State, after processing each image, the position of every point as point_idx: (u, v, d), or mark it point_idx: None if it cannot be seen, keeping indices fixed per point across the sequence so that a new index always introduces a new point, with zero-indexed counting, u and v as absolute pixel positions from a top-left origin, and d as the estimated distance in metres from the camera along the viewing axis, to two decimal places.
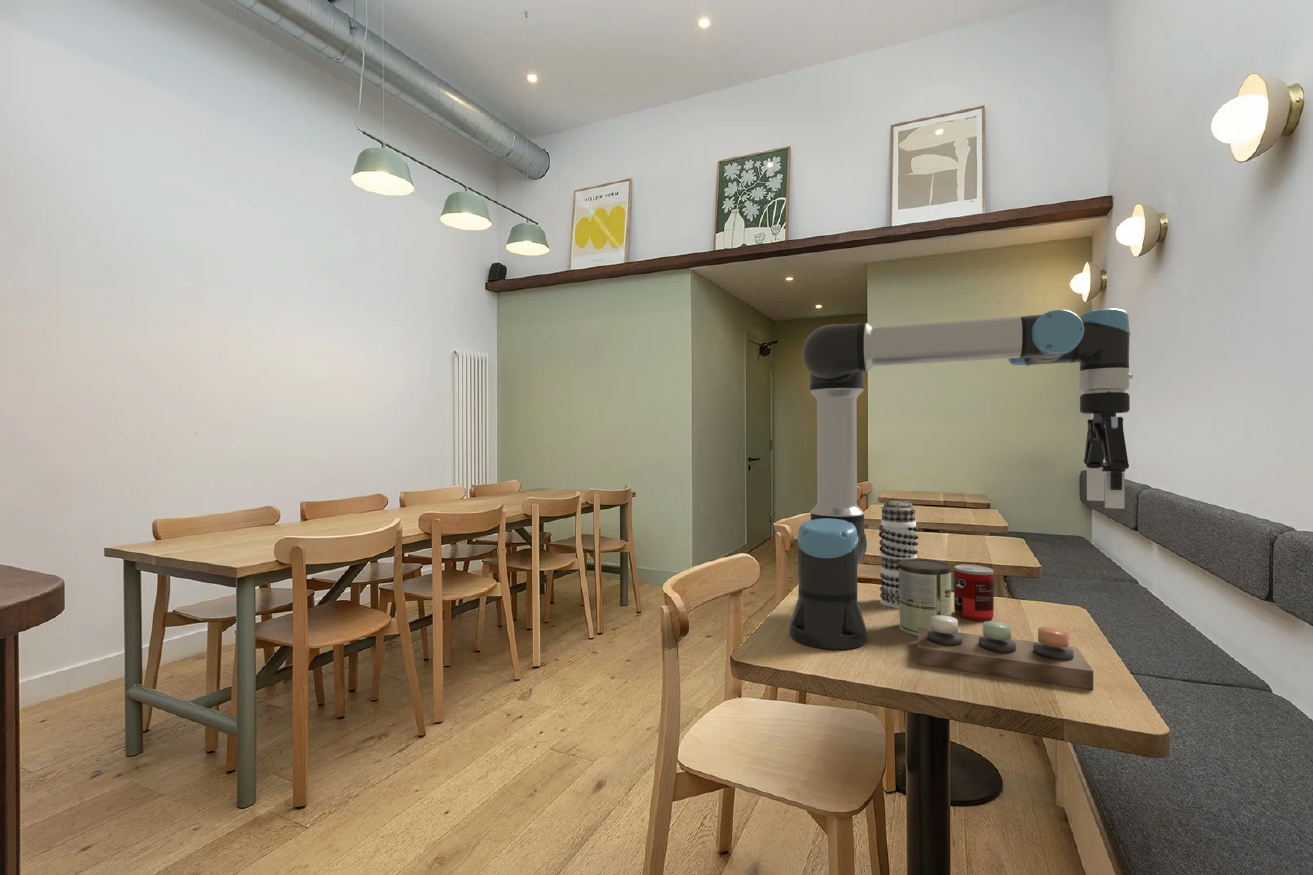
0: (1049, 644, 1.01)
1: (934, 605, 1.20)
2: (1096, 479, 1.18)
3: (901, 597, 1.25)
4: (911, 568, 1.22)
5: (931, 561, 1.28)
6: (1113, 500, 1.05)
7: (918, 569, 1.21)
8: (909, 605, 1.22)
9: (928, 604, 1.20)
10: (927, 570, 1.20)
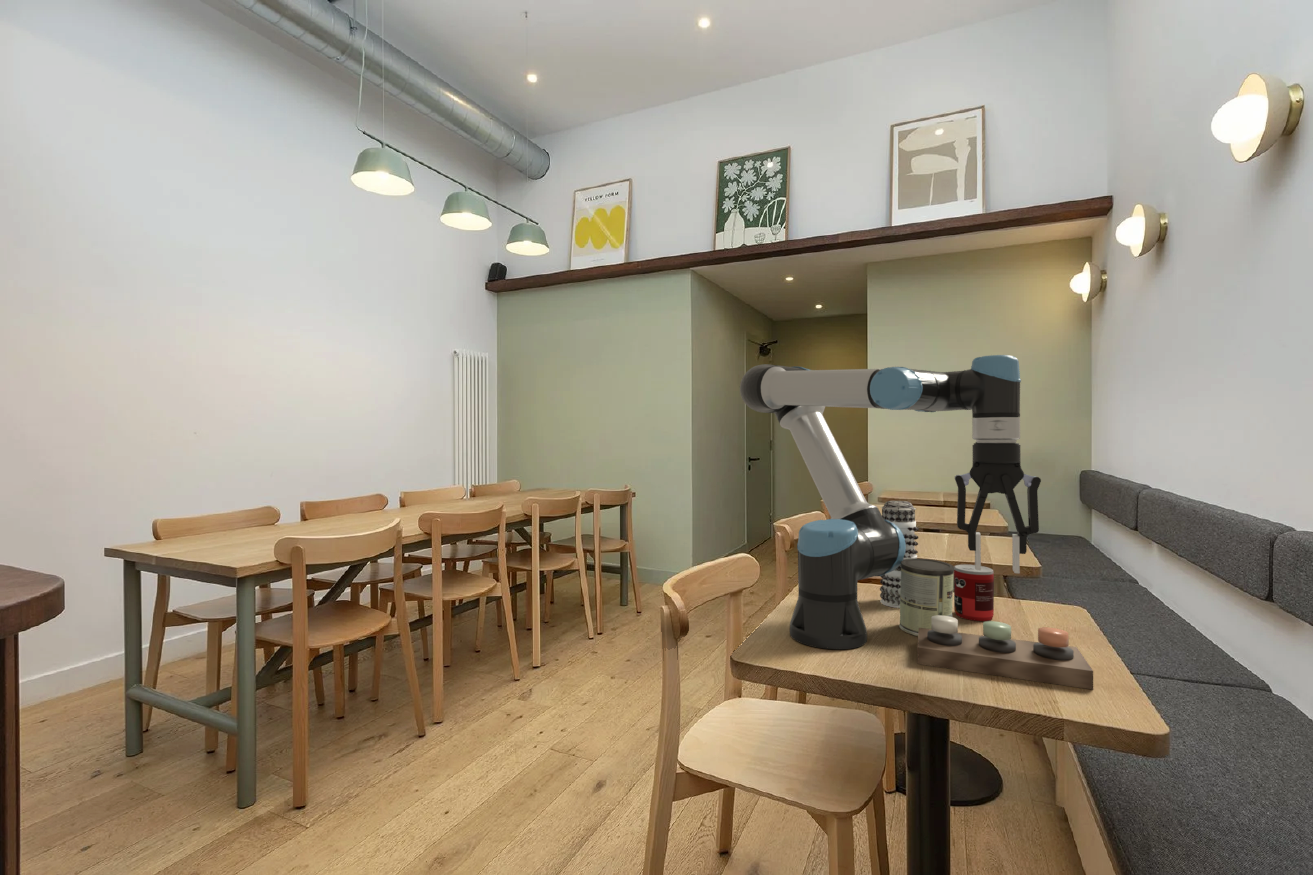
0: (1049, 644, 1.01)
1: (936, 606, 1.20)
2: (1013, 547, 1.05)
3: (902, 597, 1.24)
4: (914, 569, 1.21)
5: (933, 561, 1.27)
6: (975, 560, 1.08)
7: (921, 570, 1.20)
8: (911, 605, 1.22)
9: (930, 604, 1.20)
10: (930, 571, 1.19)
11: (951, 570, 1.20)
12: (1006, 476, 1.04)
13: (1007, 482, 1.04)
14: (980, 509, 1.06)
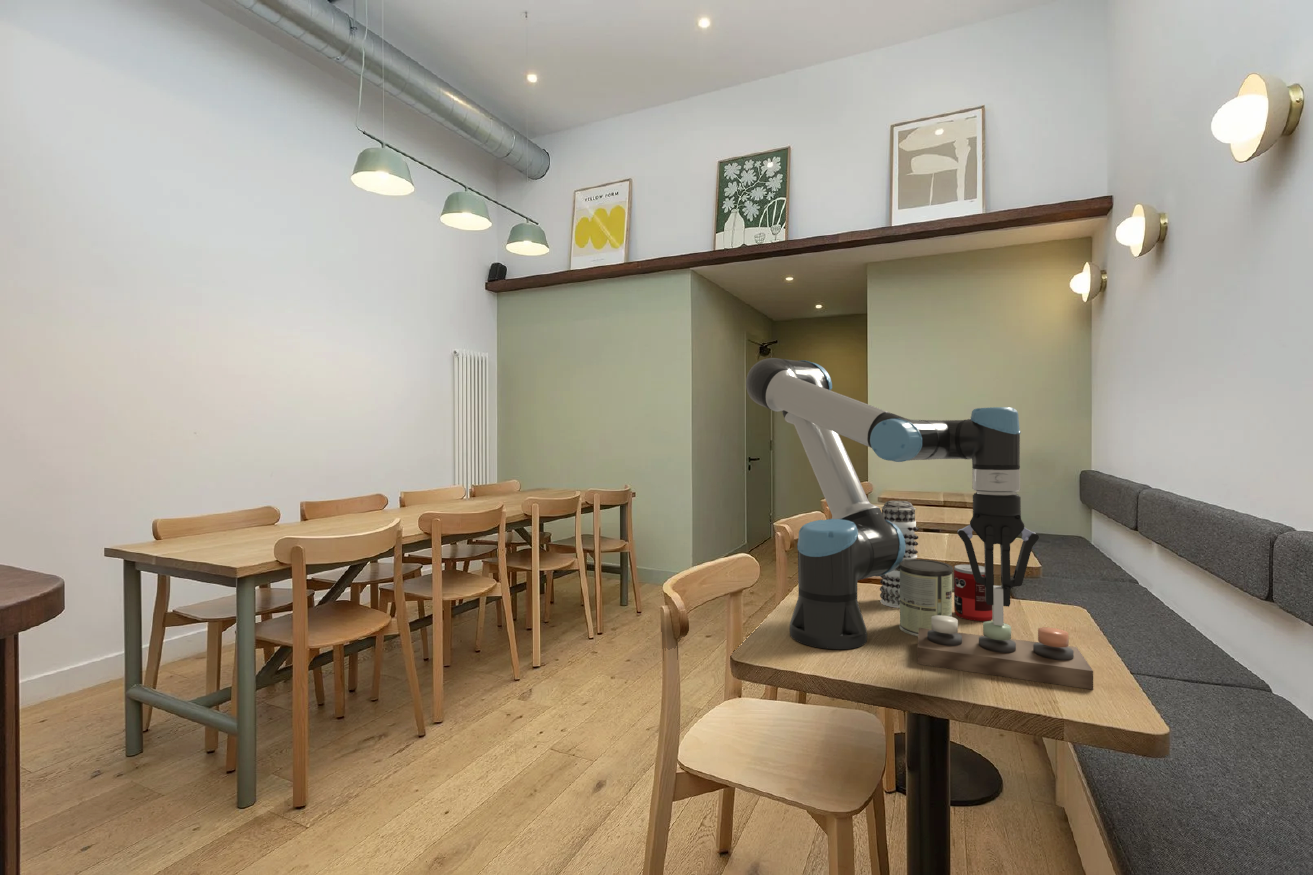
0: (1049, 644, 1.01)
1: (935, 606, 1.20)
2: None
3: (902, 598, 1.25)
4: (912, 569, 1.21)
5: (932, 562, 1.27)
6: (993, 614, 1.07)
7: (919, 571, 1.20)
8: (910, 606, 1.22)
9: (929, 605, 1.20)
10: (928, 572, 1.20)
11: (949, 570, 1.20)
12: (1007, 528, 1.04)
13: (1006, 534, 1.04)
14: (991, 562, 1.06)
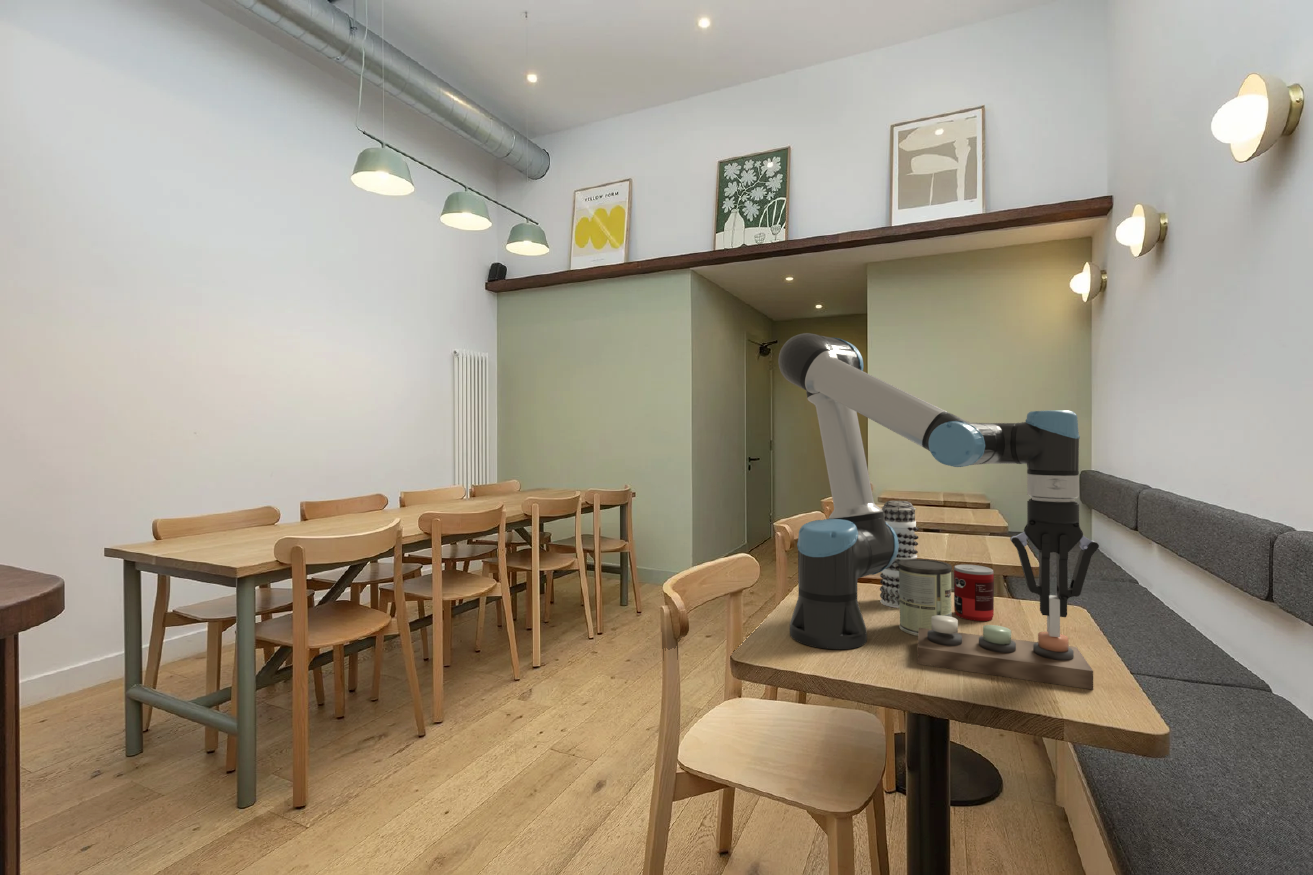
0: (1049, 649, 1.01)
1: (934, 605, 1.20)
2: None
3: (901, 597, 1.25)
4: (911, 568, 1.22)
5: (931, 561, 1.28)
6: (1048, 625, 1.03)
7: (918, 569, 1.21)
8: (909, 605, 1.22)
9: (928, 604, 1.20)
10: (927, 570, 1.20)
11: (948, 569, 1.21)
12: (1065, 536, 1.00)
13: (1064, 542, 1.00)
14: (1047, 571, 1.02)
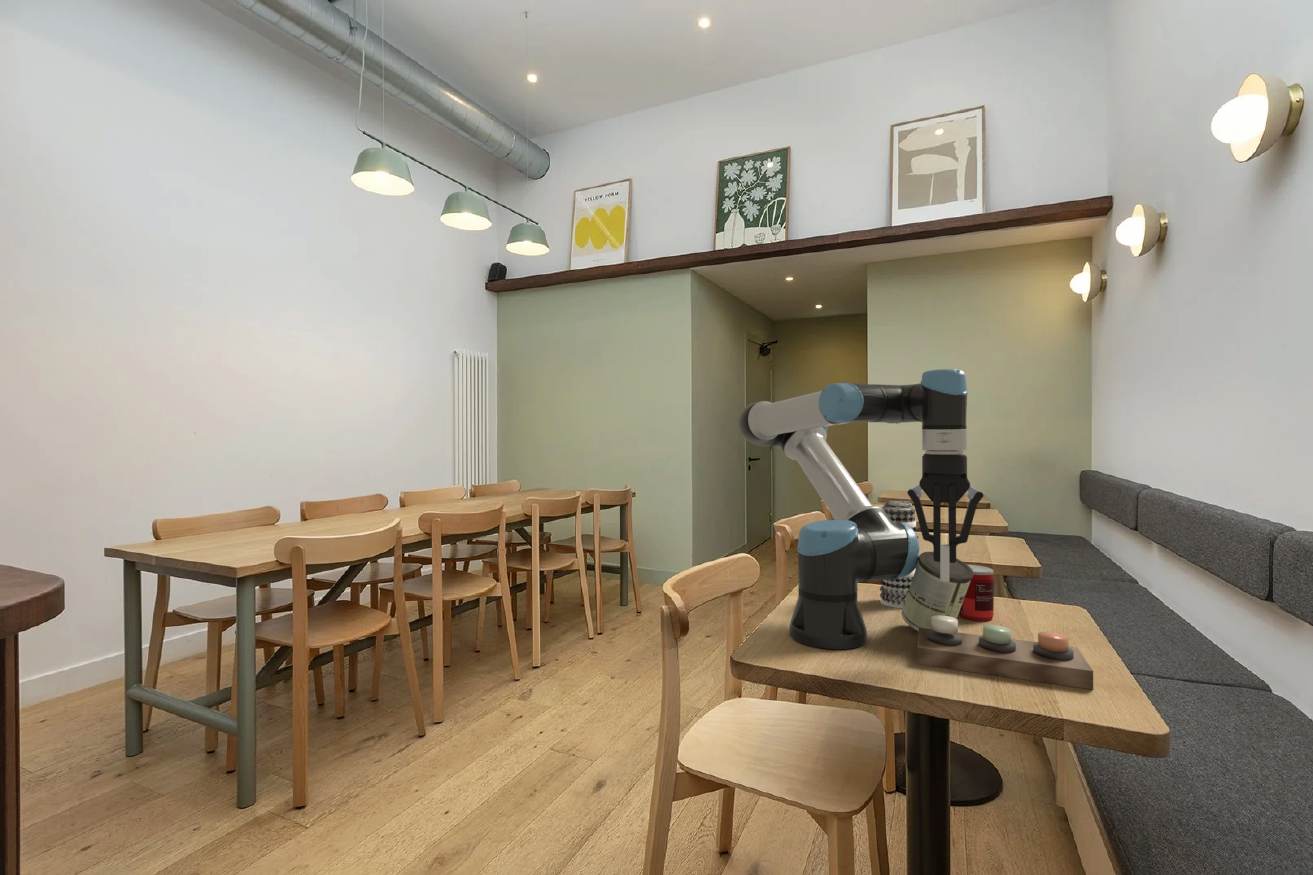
0: (1049, 649, 1.01)
1: (945, 609, 1.18)
2: None
3: (912, 591, 1.22)
4: (933, 571, 1.17)
5: None
6: None
7: None
8: (919, 603, 1.20)
9: (939, 607, 1.18)
10: (949, 577, 1.15)
11: (970, 578, 1.16)
12: (953, 487, 1.07)
13: (952, 493, 1.07)
14: (938, 520, 1.09)
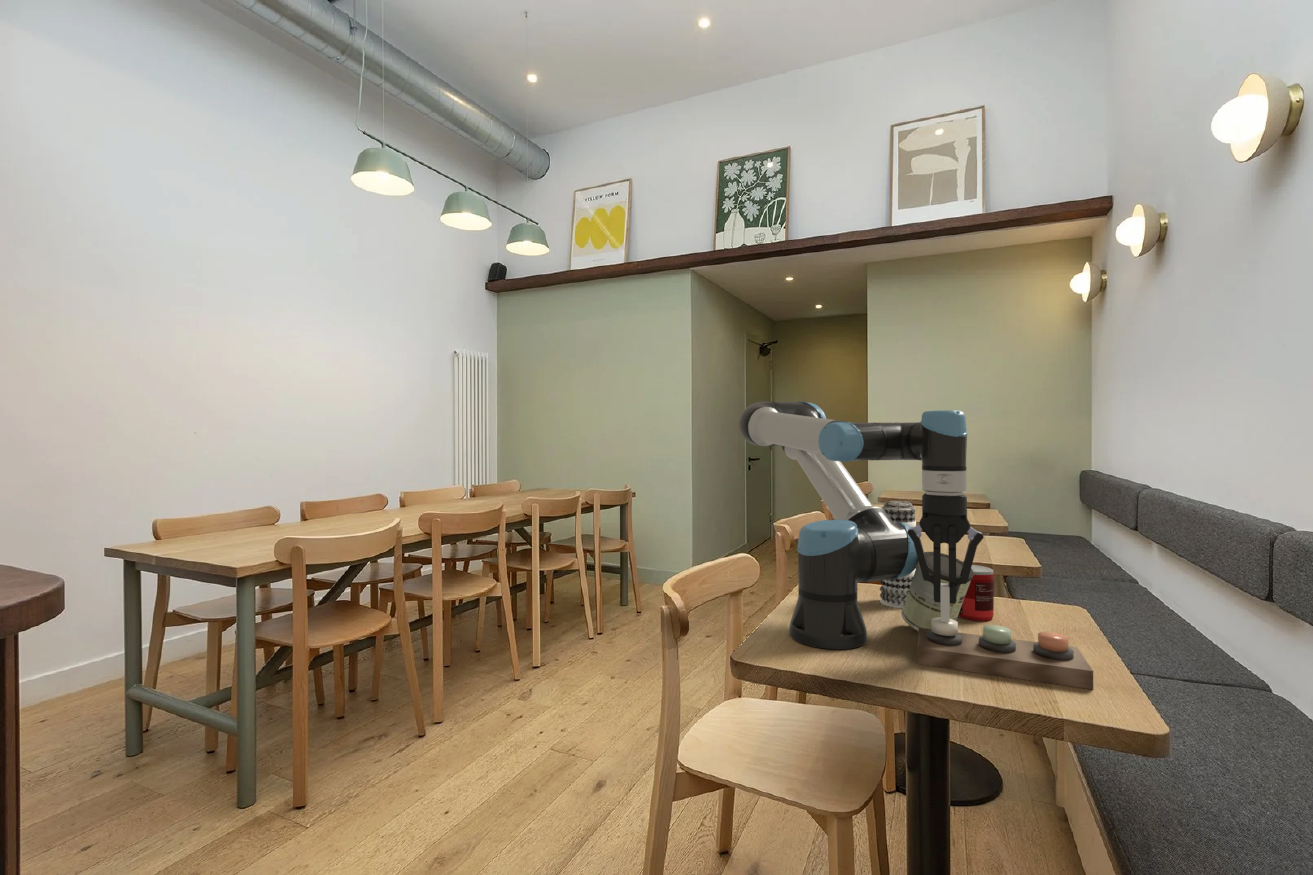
0: (1049, 649, 1.01)
1: None
2: None
3: (913, 591, 1.22)
4: None
5: None
6: None
7: None
8: (919, 602, 1.20)
9: (939, 607, 1.18)
10: None
11: (970, 578, 1.16)
12: (953, 528, 1.07)
13: (952, 534, 1.07)
14: (938, 560, 1.09)
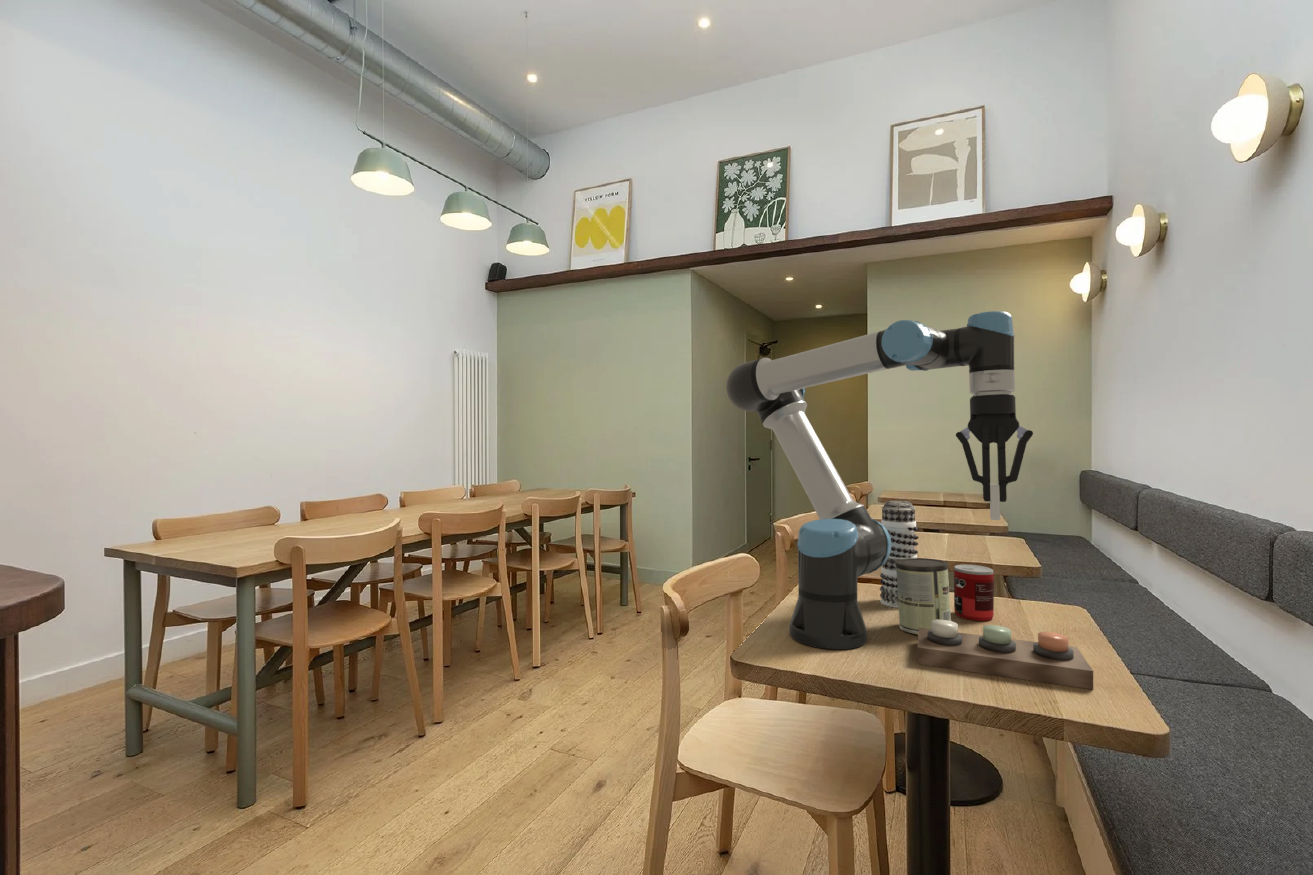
0: (1049, 649, 1.01)
1: (932, 602, 1.20)
2: None
3: (899, 596, 1.25)
4: (908, 566, 1.22)
5: (928, 560, 1.28)
6: (990, 511, 1.12)
7: (915, 567, 1.21)
8: (908, 604, 1.23)
9: (926, 601, 1.20)
10: (924, 567, 1.21)
11: (944, 565, 1.21)
12: (1002, 426, 1.09)
13: (1001, 432, 1.09)
14: (987, 460, 1.11)
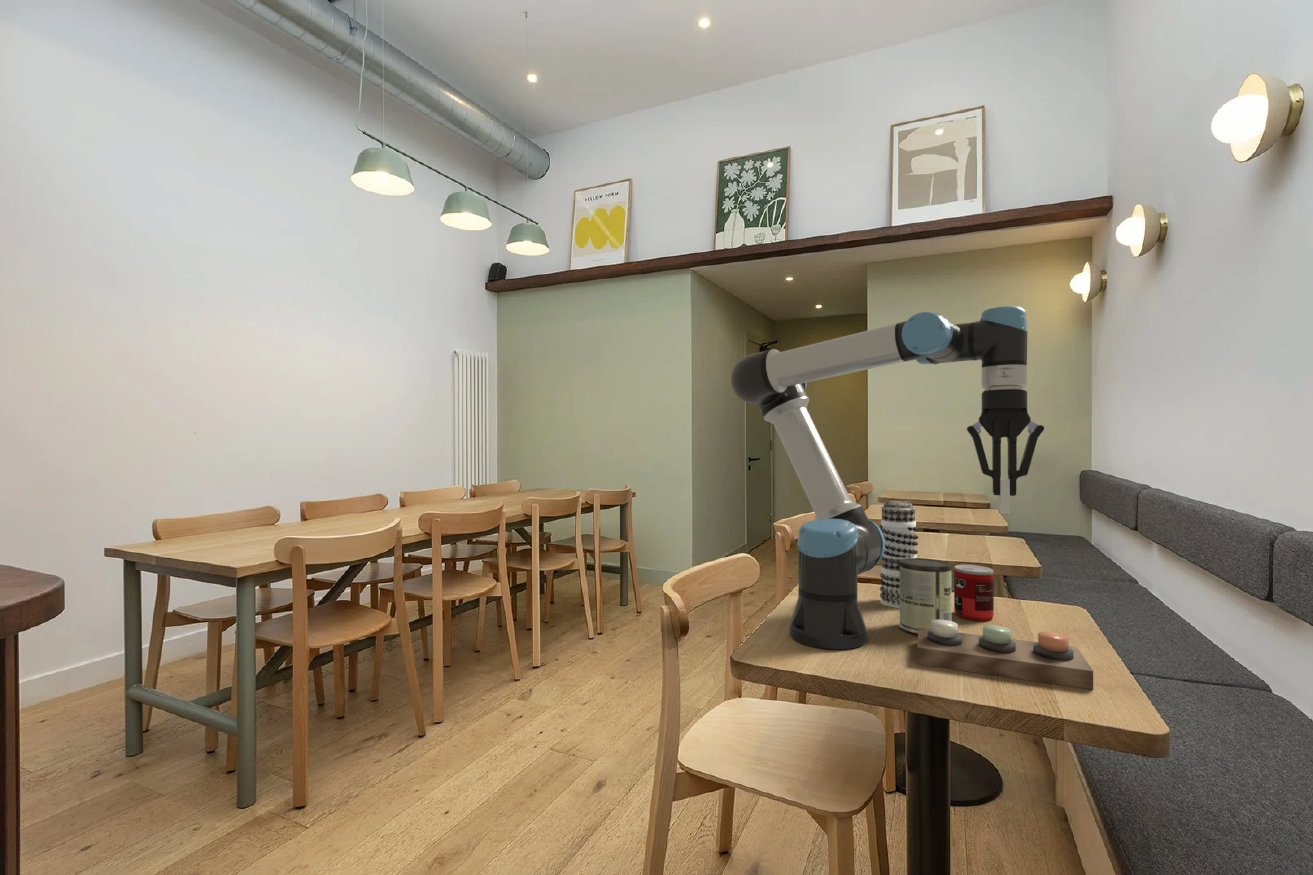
0: (1049, 649, 1.01)
1: (933, 602, 1.20)
2: None
3: (901, 594, 1.25)
4: (910, 565, 1.23)
5: (933, 560, 1.28)
6: (999, 505, 1.13)
7: (917, 566, 1.21)
8: (908, 602, 1.23)
9: (927, 601, 1.20)
10: (926, 567, 1.21)
11: (948, 567, 1.21)
12: (1014, 421, 1.10)
13: (1013, 427, 1.10)
14: (998, 454, 1.12)
